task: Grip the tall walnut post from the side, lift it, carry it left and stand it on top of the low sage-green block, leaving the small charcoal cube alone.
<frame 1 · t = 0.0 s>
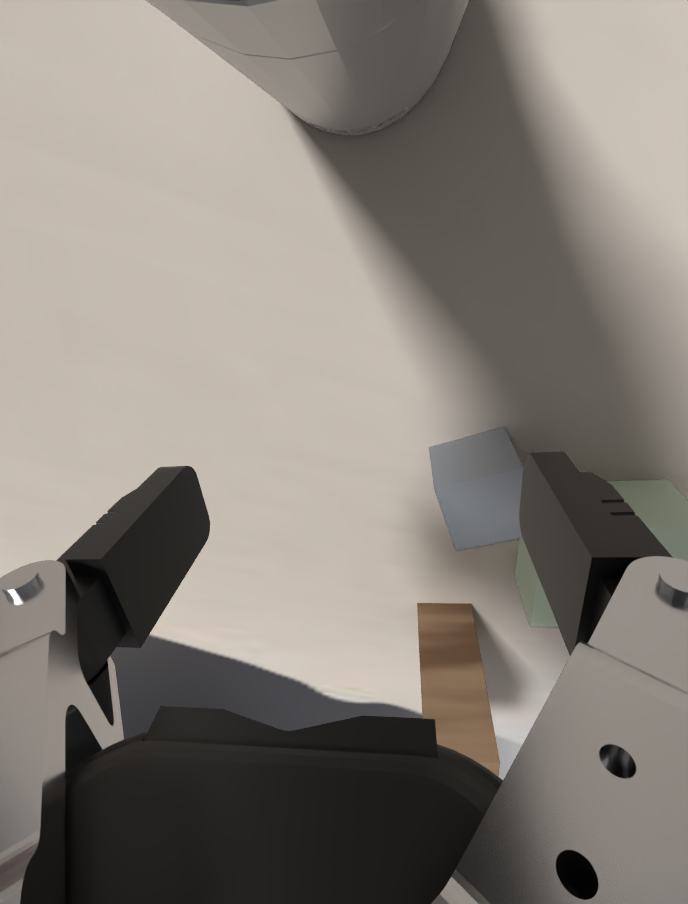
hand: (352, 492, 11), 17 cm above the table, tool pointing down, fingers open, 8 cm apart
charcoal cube: (474, 466, 30), on the table
sage block: (583, 529, 32), on the table
walnut post: (443, 621, 38), on the table
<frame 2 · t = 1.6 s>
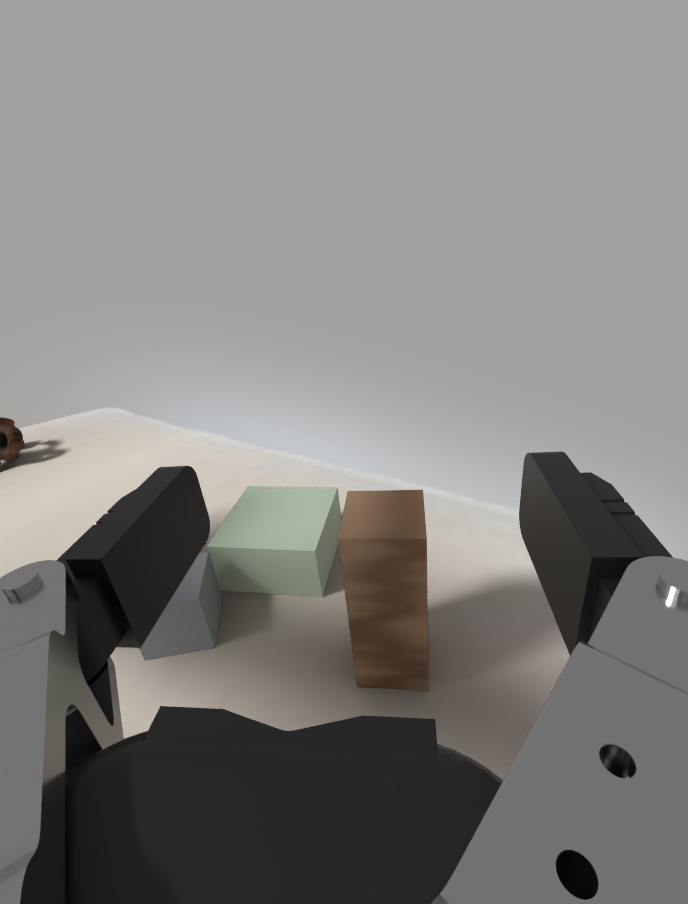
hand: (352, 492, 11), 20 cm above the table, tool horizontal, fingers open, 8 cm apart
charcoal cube: (186, 627, 34), on the table
brown arched piece: (1, 464, 65), on the table
sage block: (286, 559, 40), on the table
walnut post: (393, 657, 29), on the table
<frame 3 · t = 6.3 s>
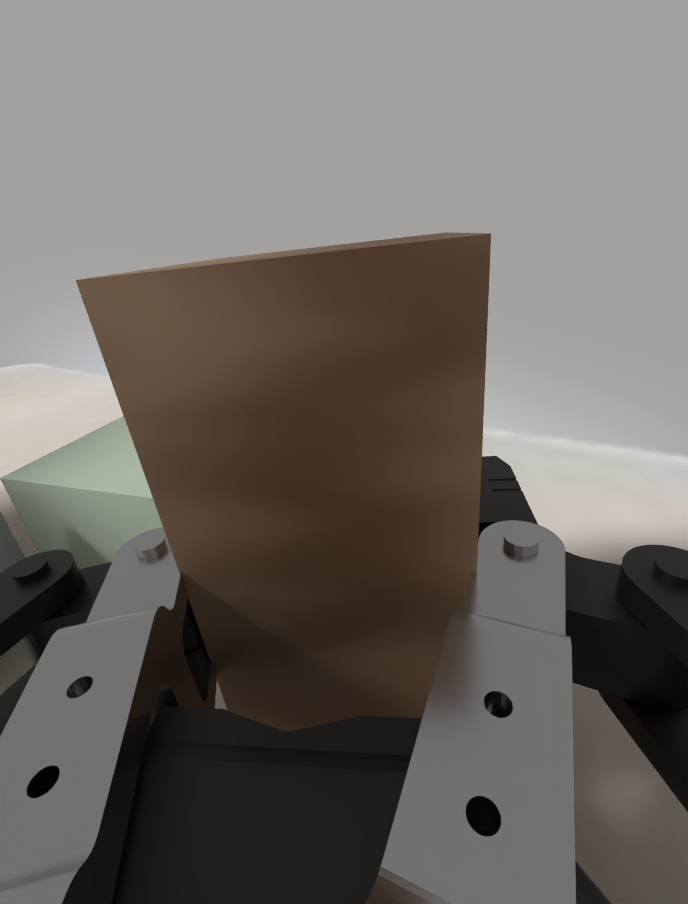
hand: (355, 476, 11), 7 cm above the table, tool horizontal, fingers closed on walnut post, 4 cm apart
sage block: (188, 525, 22), on the table
walnut post: (369, 732, 12), on the table, touching gripper
when the fingers open (13 cm above the table, at t = 10.9 s): walnut post drops 1 cm, resting on sage block.
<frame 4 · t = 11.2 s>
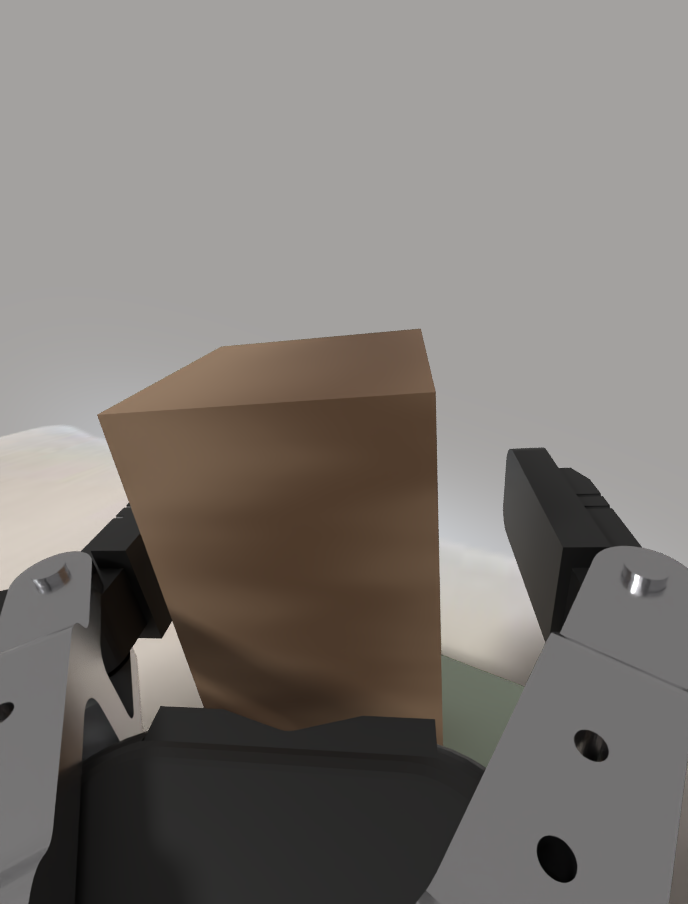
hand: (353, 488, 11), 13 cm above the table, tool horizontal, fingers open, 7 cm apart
sage block: (383, 850, 15), on the table, touching walnut post
walnut post: (359, 773, 12), point 5 cm above the table, touching sage block
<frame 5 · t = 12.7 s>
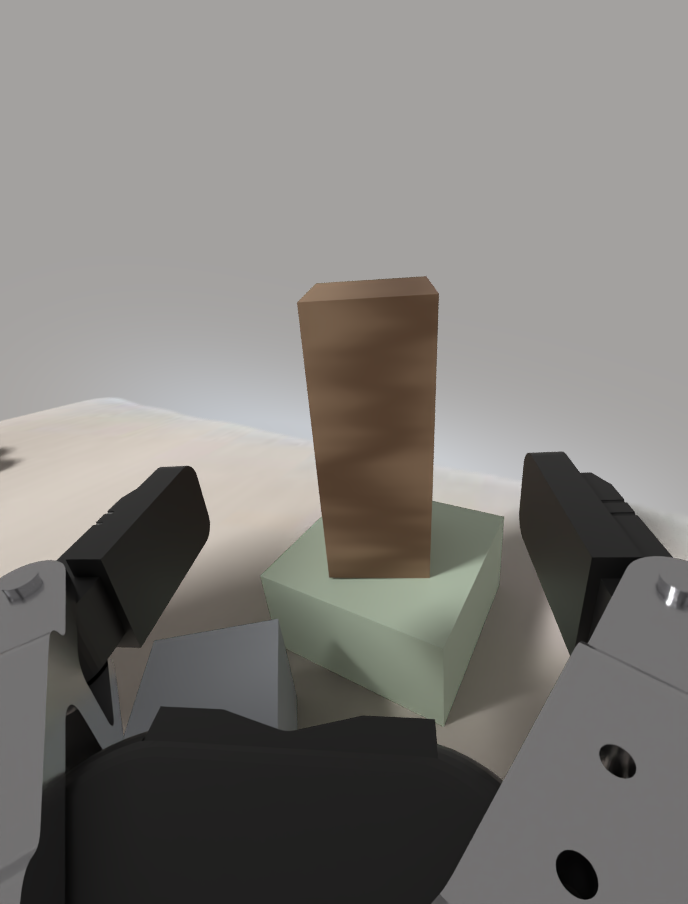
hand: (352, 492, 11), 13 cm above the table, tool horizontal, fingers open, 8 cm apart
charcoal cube: (237, 766, 18), on the table
sage block: (393, 617, 24), on the table, touching walnut post
walnut post: (379, 544, 21), point 5 cm above the table, touching sage block
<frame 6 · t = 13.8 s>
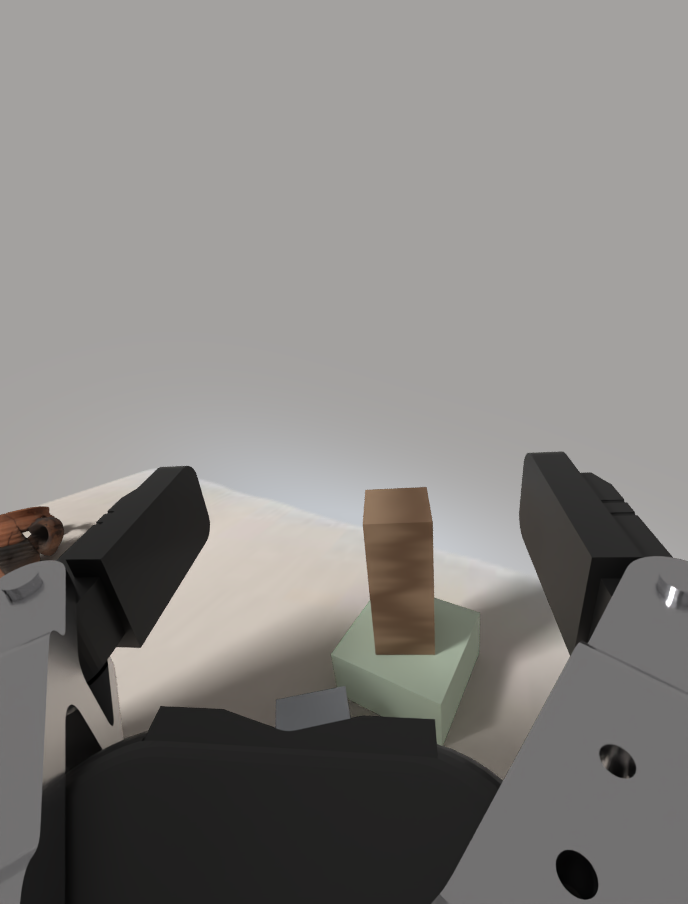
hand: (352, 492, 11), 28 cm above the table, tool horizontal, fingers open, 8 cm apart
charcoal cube: (323, 771, 31), on the table
brown arched piece: (37, 557, 60), on the table
sage block: (410, 675, 37), on the table, touching walnut post
walnut post: (403, 631, 35), point 5 cm above the table, touching sage block
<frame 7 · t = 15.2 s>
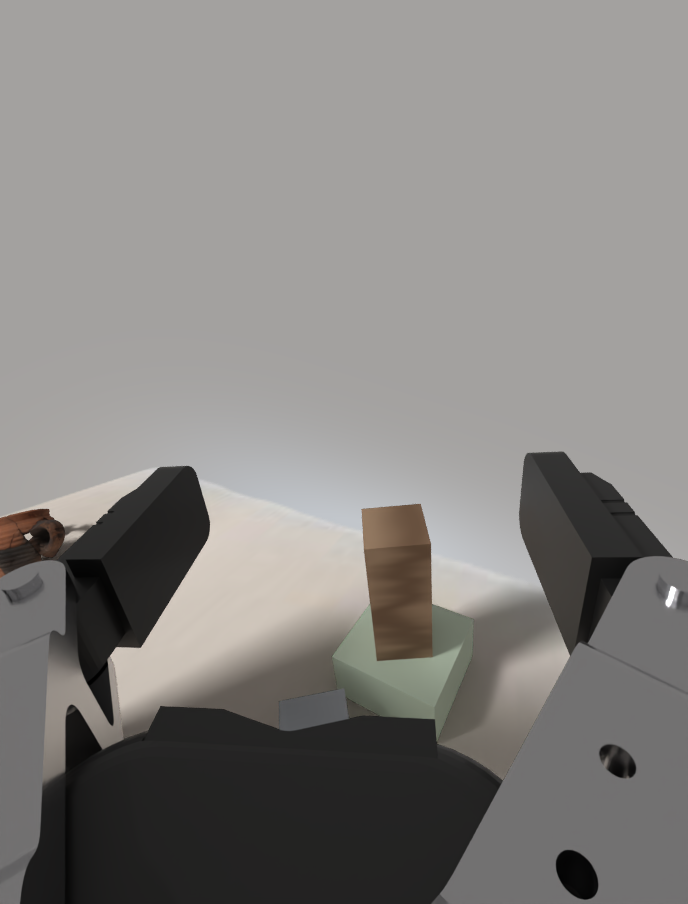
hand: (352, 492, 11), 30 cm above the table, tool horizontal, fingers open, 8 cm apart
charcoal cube: (323, 767, 33), on the table
brown arched piece: (38, 558, 61), on the table
sage block: (406, 676, 39), on the table
walnut post: (401, 635, 37), point 5 cm above the table
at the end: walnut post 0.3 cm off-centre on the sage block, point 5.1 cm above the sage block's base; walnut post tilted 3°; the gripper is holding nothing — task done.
